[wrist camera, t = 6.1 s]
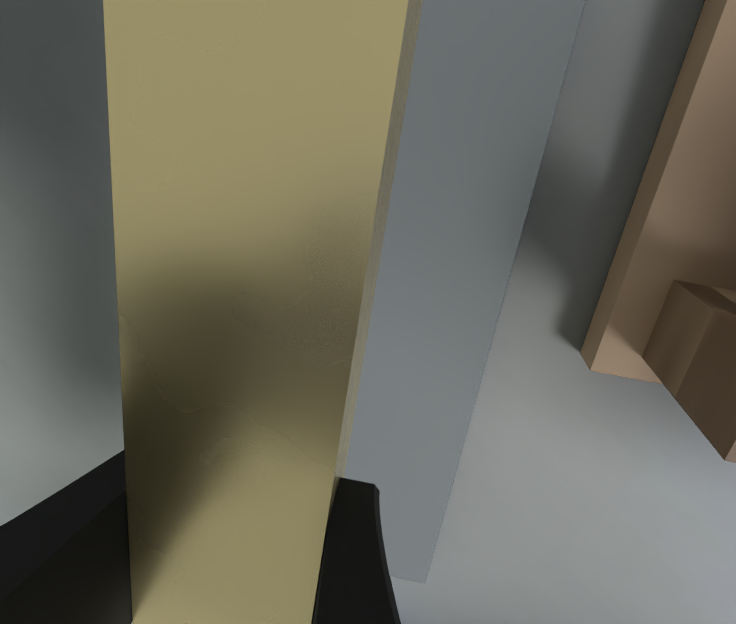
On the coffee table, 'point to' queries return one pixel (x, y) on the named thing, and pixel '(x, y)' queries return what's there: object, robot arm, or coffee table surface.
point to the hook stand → (683, 247)
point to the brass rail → (245, 282)
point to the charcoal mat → (451, 248)
